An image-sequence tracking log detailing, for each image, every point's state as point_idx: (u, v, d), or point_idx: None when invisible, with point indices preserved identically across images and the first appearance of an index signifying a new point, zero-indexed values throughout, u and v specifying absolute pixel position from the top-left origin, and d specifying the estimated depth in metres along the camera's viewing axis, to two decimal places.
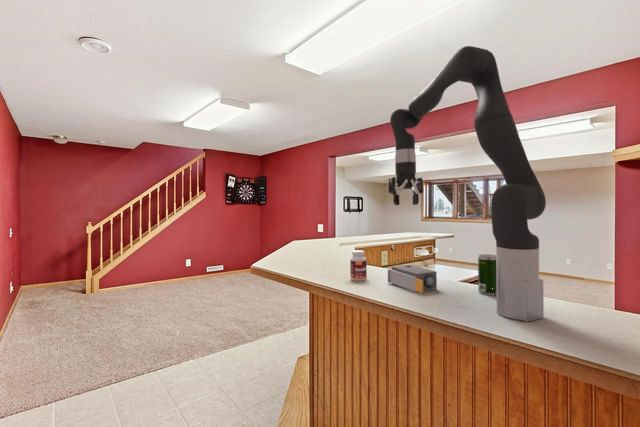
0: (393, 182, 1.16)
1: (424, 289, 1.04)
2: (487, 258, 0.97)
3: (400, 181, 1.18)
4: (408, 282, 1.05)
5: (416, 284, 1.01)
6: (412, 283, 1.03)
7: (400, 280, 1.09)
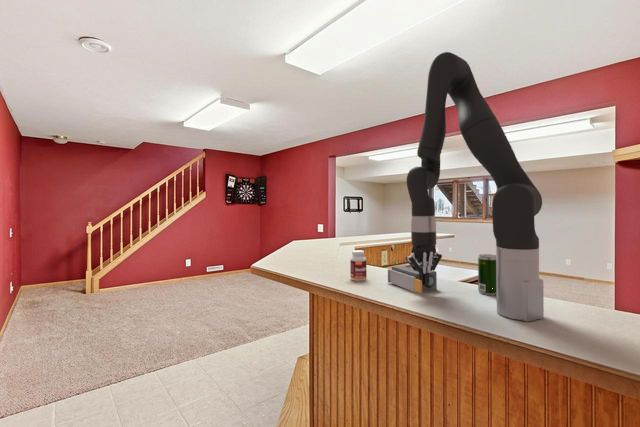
0: (414, 262, 0.97)
1: (424, 289, 1.04)
2: (487, 258, 0.97)
3: (419, 258, 0.98)
4: (407, 282, 1.05)
5: (415, 284, 1.01)
6: (411, 283, 1.03)
7: (400, 280, 1.09)
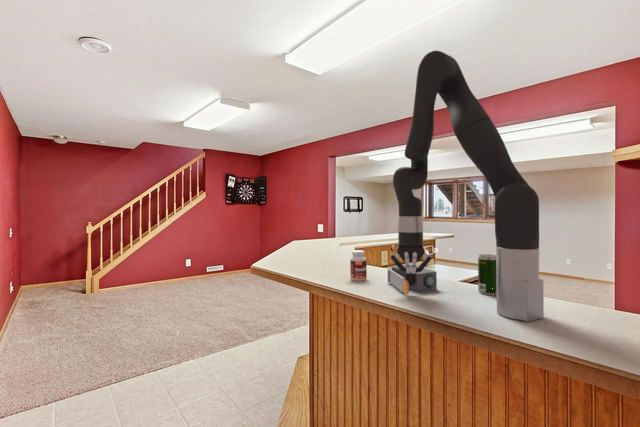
0: (395, 261, 1.01)
1: (424, 289, 1.04)
2: (487, 258, 0.97)
3: (402, 258, 1.00)
4: (399, 283, 1.04)
5: (403, 285, 1.00)
6: (401, 284, 1.02)
7: (395, 280, 1.08)
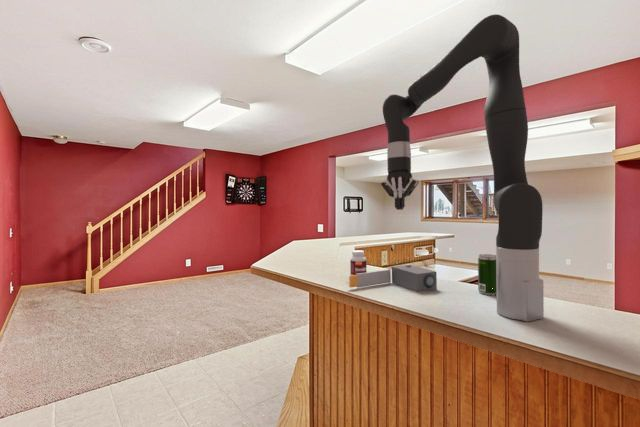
0: (384, 187, 1.07)
1: (424, 289, 1.04)
2: (487, 258, 0.97)
3: (390, 183, 1.06)
4: None
5: None
6: None
7: None
